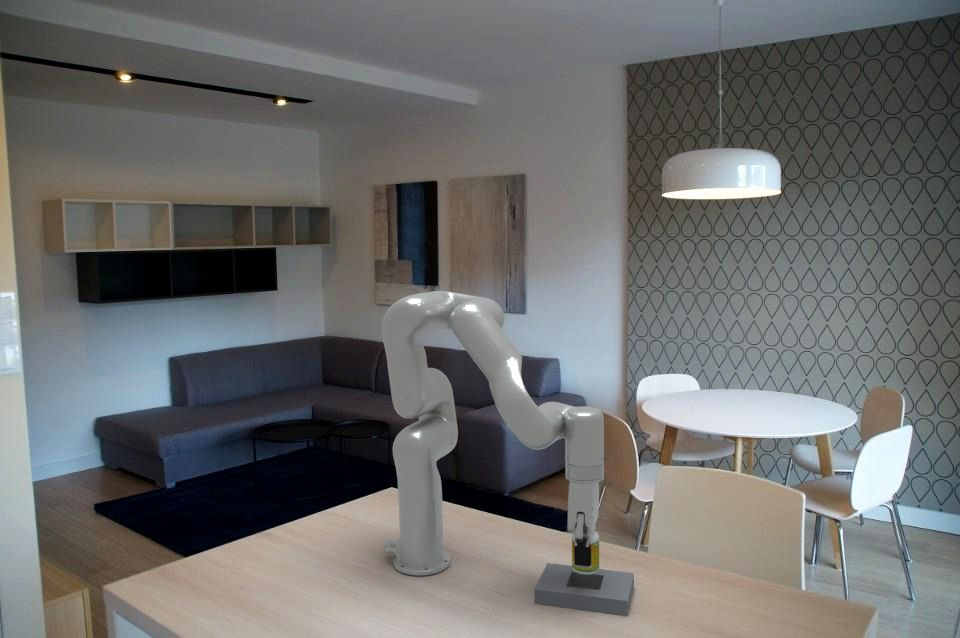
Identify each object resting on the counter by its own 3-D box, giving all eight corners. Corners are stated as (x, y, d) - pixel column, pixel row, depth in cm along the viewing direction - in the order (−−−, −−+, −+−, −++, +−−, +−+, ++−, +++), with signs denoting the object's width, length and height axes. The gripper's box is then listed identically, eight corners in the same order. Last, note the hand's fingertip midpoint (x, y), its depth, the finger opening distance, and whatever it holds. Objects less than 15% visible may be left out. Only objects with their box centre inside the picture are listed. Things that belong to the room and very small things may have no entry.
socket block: (534, 603, 146) (534, 589, 146) (547, 576, 157) (547, 562, 157) (627, 615, 141) (627, 600, 140) (633, 586, 152) (633, 572, 152)
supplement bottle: (598, 576, 145) (598, 528, 144) (571, 574, 146) (570, 527, 145) (600, 564, 150) (599, 518, 149) (573, 562, 152) (572, 516, 150)
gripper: (573, 456, 155) (574, 539, 157) (557, 483, 139) (558, 575, 141) (609, 458, 153) (609, 543, 155) (597, 486, 137) (598, 579, 139)
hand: (585, 557), depth 148 cm, fingers closed on supplement bottle, 5 cm apart
